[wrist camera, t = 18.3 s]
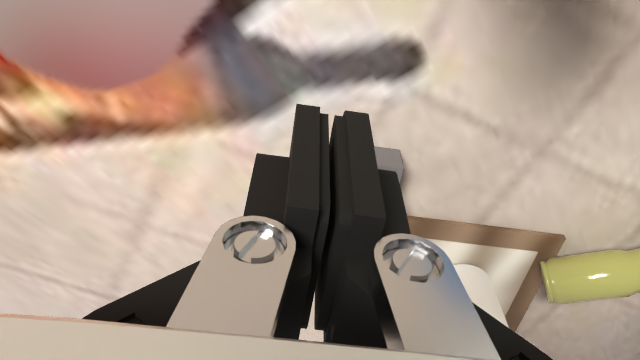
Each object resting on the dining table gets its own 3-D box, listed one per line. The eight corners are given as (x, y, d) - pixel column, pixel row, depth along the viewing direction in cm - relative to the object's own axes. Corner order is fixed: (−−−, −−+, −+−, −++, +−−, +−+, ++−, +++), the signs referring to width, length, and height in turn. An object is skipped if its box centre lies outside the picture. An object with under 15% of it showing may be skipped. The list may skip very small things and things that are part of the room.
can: (483, 254, 49) (525, 359, 39) (494, 298, 52) (535, 406, 42) (418, 270, 50) (442, 377, 40) (432, 312, 53) (458, 421, 43)
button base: (399, 149, 43) (403, 168, 41) (384, 202, 46) (388, 222, 44) (334, 141, 43) (335, 159, 40) (324, 194, 46) (324, 215, 43)
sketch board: (563, 235, 48) (566, 239, 48) (508, 337, 56) (510, 342, 56) (389, 213, 47) (390, 217, 46) (358, 321, 55) (359, 326, 55)
